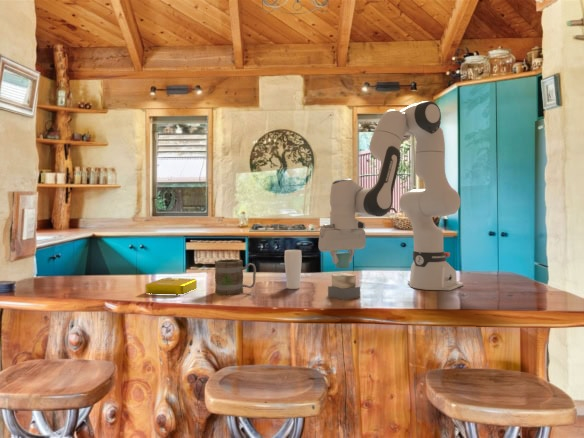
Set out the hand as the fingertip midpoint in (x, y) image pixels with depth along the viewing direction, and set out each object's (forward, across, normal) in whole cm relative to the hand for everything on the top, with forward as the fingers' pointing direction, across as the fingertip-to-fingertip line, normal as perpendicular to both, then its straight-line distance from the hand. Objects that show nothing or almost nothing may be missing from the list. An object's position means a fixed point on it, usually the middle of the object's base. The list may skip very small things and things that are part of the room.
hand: (342, 262), depth 145 cm
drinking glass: (+12, -5, +23) cm, 27 cm away
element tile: (+13, -45, +47) cm, 67 cm away
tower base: (+12, 0, -1) cm, 12 cm away
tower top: (+8, 0, 0) cm, 8 cm away
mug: (+12, -27, +30) cm, 42 cm away
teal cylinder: (+2, 0, 0) cm, 2 cm away
